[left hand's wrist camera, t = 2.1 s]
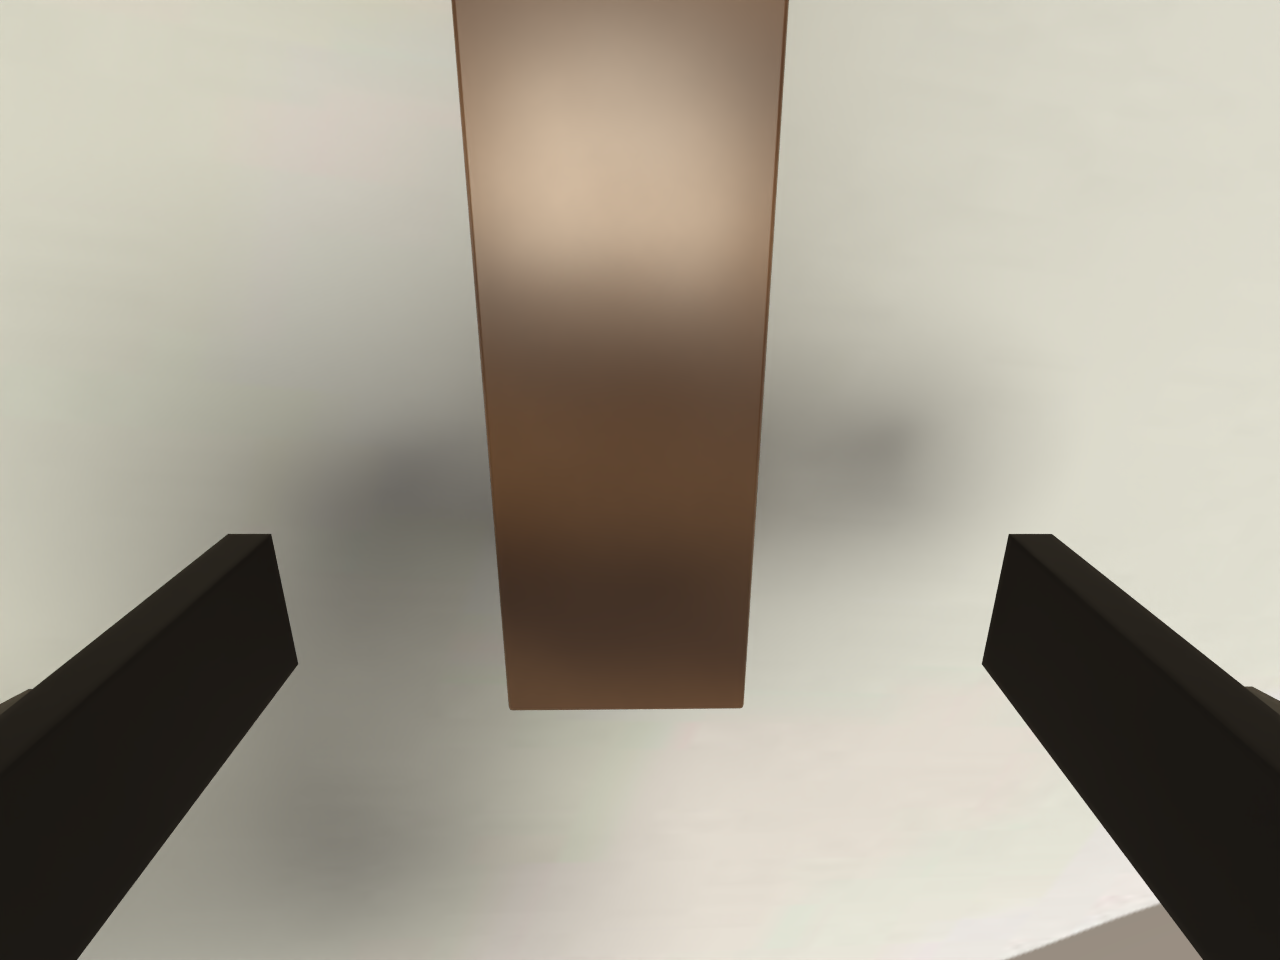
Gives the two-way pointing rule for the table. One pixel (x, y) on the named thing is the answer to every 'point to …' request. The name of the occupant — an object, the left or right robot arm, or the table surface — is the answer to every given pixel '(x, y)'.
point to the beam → (622, 333)
